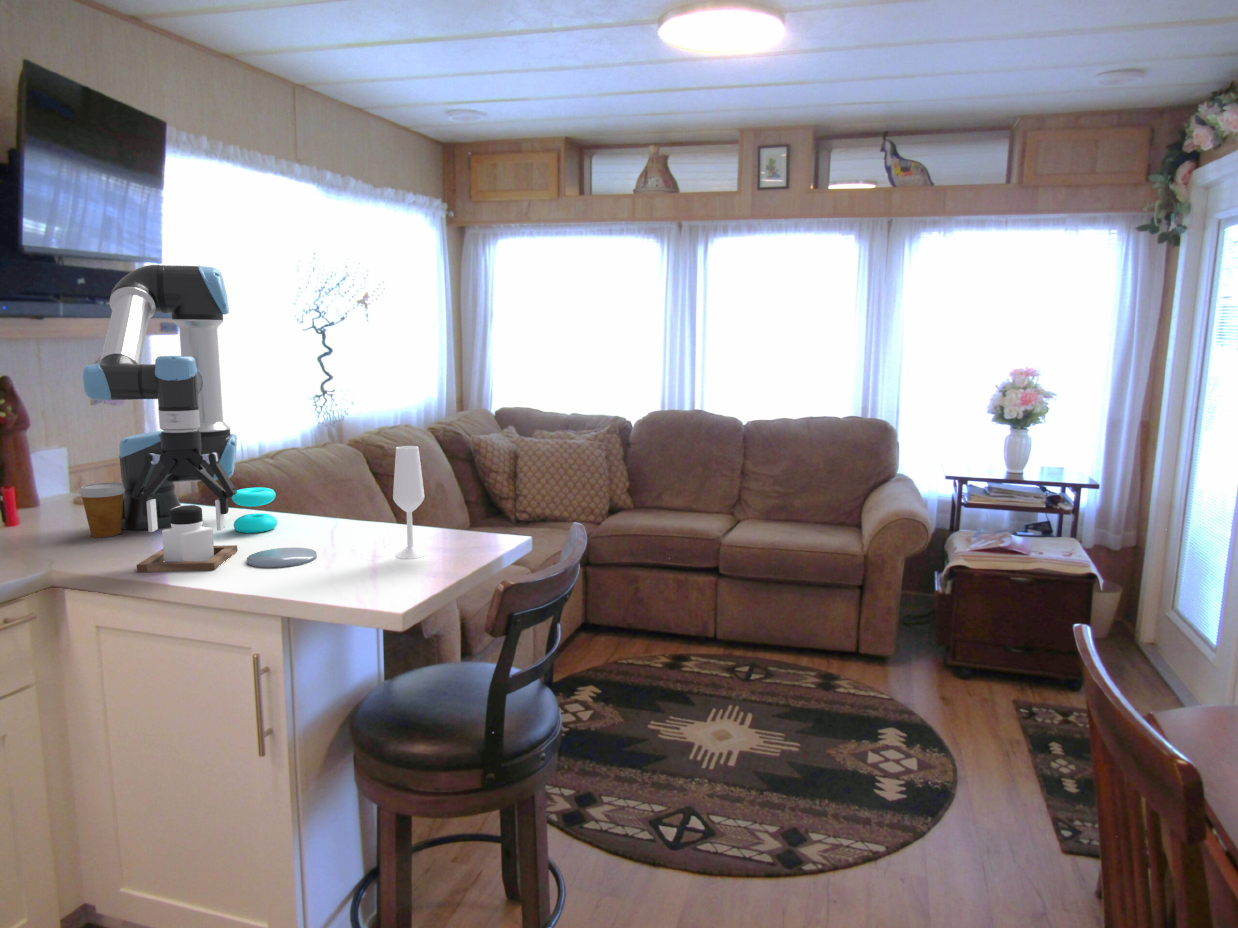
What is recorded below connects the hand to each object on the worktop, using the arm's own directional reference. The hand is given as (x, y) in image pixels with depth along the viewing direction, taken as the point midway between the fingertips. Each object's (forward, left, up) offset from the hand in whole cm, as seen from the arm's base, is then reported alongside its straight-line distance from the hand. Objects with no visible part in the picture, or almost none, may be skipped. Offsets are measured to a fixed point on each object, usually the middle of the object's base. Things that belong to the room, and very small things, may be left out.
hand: (187, 530), depth 179 cm
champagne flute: (-1, +46, -7) cm, 47 cm away
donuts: (-30, +5, -7) cm, 31 cm away
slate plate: (0, +19, -7) cm, 20 cm away
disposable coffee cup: (-28, -29, -7) cm, 41 cm away
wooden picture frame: (0, 0, -7) cm, 7 cm away
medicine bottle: (0, 0, -7) cm, 7 cm away
